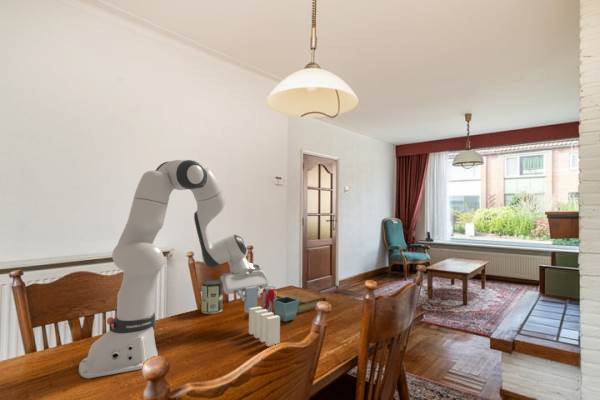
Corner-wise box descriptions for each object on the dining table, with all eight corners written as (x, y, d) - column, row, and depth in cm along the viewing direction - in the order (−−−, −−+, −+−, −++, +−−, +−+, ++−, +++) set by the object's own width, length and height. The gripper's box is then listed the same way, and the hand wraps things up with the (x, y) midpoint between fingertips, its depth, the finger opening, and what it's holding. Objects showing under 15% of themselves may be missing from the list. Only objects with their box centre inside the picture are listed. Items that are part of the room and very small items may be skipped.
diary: (326, 307, 168) (326, 296, 168) (299, 315, 156) (299, 303, 156) (297, 298, 185) (297, 287, 185) (270, 304, 173) (271, 293, 173)
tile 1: (250, 334, 129) (251, 309, 130) (248, 333, 131) (249, 308, 131) (261, 332, 132) (262, 307, 133) (259, 330, 134) (259, 306, 134)
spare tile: (246, 313, 133) (246, 288, 133) (244, 311, 135) (244, 287, 135) (257, 310, 136) (257, 287, 136) (255, 309, 138) (255, 286, 138)
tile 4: (268, 346, 118) (268, 319, 119) (265, 344, 120) (265, 317, 120) (279, 343, 121) (280, 316, 122) (276, 341, 123) (277, 315, 123)
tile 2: (256, 338, 126) (256, 312, 126) (253, 336, 127) (254, 311, 128) (267, 335, 129) (267, 310, 129) (264, 334, 130) (265, 309, 131)
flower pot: (272, 319, 148) (272, 299, 148) (287, 315, 154) (287, 296, 154) (284, 324, 141) (284, 303, 142) (299, 320, 147) (299, 300, 148)
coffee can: (215, 306, 166) (216, 278, 167) (226, 310, 159) (227, 282, 160) (197, 310, 159) (197, 281, 159) (208, 315, 152) (208, 285, 152)
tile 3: (262, 342, 122) (262, 315, 122) (259, 340, 124) (260, 314, 124) (273, 339, 125) (273, 313, 125) (270, 337, 127) (271, 312, 127)
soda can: (274, 315, 153) (274, 289, 154) (260, 314, 155) (260, 288, 155) (278, 310, 160) (278, 286, 161) (264, 309, 162) (264, 285, 162)
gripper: (221, 269, 135) (230, 298, 127) (263, 264, 147) (274, 291, 139) (217, 278, 139) (226, 307, 131) (258, 273, 151) (269, 298, 143)
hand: (251, 298), depth 135 cm, fingers closed on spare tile, 5 cm apart
